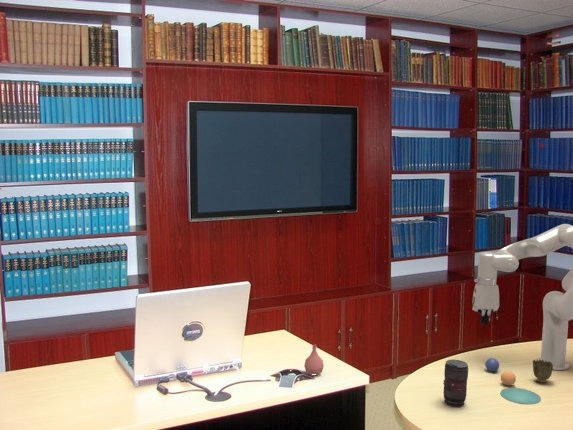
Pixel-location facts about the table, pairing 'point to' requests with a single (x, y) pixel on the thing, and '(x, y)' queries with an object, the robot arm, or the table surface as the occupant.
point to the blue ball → (492, 364)
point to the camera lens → (455, 382)
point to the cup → (542, 370)
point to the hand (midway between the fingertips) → (484, 324)
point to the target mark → (520, 396)
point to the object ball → (508, 378)
